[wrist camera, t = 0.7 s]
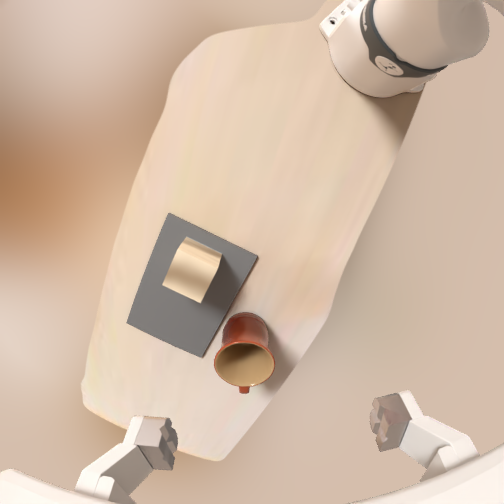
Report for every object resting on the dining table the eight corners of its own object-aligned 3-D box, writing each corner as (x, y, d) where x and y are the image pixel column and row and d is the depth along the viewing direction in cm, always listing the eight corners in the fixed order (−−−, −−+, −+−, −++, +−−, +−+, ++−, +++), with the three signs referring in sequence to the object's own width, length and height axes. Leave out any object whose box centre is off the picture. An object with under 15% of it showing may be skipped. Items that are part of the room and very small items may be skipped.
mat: (169, 212, 45) (168, 213, 45) (257, 255, 47) (257, 256, 47) (127, 321, 51) (126, 322, 51) (201, 356, 54) (201, 357, 53)
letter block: (186, 236, 46) (177, 248, 40) (222, 253, 47) (217, 268, 41) (172, 269, 48) (162, 284, 42) (206, 285, 48) (200, 303, 43)
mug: (219, 304, 50) (212, 340, 40) (272, 306, 50) (277, 342, 41) (221, 360, 54) (216, 399, 44) (268, 362, 54) (271, 401, 44)
